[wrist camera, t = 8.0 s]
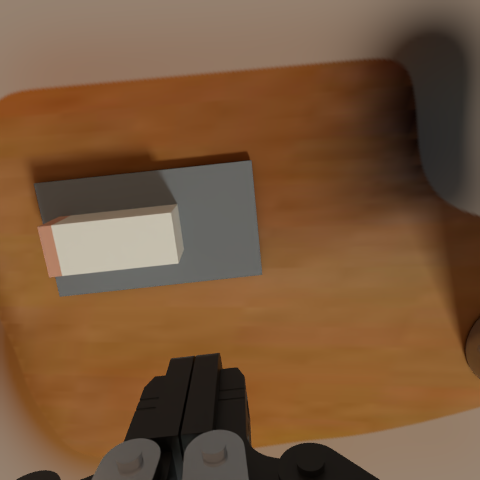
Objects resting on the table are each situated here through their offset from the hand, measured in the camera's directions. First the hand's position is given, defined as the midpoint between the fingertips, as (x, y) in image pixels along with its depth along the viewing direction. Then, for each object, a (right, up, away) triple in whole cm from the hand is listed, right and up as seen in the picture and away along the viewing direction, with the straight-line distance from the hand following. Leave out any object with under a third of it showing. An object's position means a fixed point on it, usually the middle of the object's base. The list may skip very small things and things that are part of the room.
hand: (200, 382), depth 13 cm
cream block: (-4, +5, +20) cm, 21 cm away
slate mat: (-6, +5, +22) cm, 24 cm away
